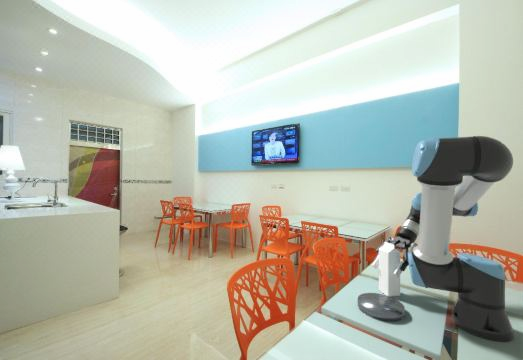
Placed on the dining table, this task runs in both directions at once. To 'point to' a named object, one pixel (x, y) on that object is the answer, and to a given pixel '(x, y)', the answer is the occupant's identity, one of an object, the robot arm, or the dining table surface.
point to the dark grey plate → (381, 307)
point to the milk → (389, 270)
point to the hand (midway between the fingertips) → (384, 271)
